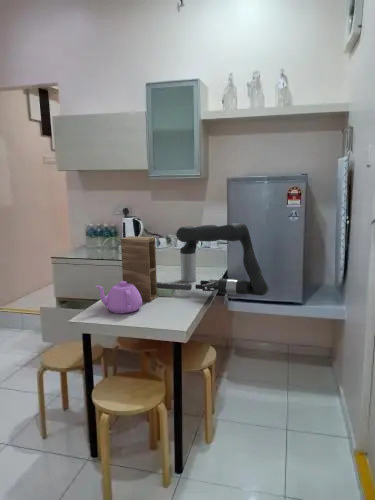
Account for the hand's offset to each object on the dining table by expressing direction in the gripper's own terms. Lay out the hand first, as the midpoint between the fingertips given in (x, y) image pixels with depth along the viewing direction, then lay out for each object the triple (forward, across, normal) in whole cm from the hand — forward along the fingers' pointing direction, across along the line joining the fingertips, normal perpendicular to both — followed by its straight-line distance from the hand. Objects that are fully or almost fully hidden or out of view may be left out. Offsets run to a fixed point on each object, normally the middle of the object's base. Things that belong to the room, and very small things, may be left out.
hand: (198, 284), depth 203 cm
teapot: (+30, +30, +7) cm, 43 cm away
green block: (+22, 0, +6) cm, 23 cm away
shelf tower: (+28, +10, +6) cm, 31 cm away
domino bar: (+16, 0, +3) cm, 16 cm away
